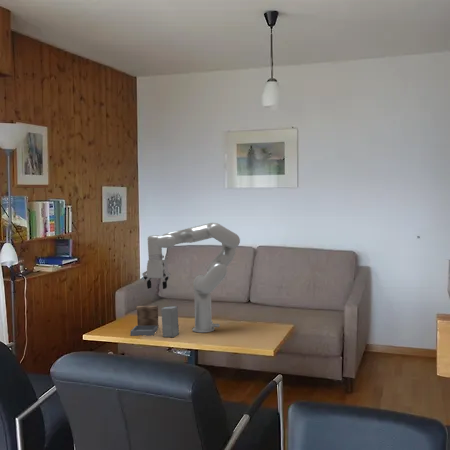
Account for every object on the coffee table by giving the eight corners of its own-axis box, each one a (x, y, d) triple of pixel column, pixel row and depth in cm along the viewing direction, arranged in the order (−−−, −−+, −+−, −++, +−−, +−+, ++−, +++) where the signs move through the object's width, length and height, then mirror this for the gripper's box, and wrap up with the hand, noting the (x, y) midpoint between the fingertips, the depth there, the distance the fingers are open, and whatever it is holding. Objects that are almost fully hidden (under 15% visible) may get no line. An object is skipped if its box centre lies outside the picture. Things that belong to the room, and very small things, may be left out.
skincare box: (173, 337, 294) (172, 308, 294) (161, 337, 297) (160, 308, 296) (179, 334, 302) (179, 305, 302) (168, 333, 305) (167, 305, 304)
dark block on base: (158, 328, 318) (157, 305, 318) (157, 329, 314) (156, 307, 313) (138, 328, 319) (137, 305, 318) (136, 330, 314) (135, 307, 314)
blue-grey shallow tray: (157, 329, 314) (157, 325, 314) (153, 335, 300) (153, 331, 300) (136, 329, 315) (135, 325, 315) (130, 335, 301) (130, 331, 301)
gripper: (172, 256, 302) (174, 287, 303) (145, 257, 308) (147, 287, 309) (165, 258, 295) (167, 289, 296) (138, 258, 301) (140, 289, 302)
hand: (157, 288), depth 302 cm, fingers open, 9 cm apart
